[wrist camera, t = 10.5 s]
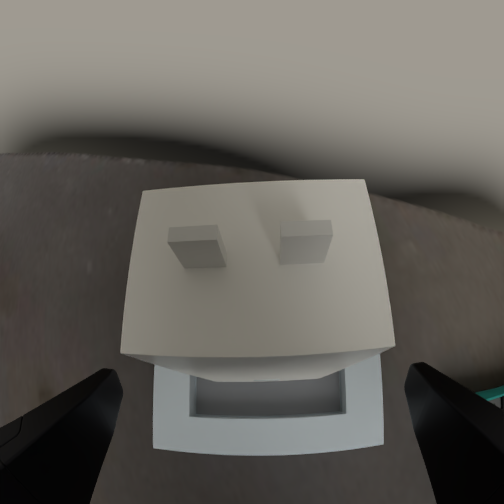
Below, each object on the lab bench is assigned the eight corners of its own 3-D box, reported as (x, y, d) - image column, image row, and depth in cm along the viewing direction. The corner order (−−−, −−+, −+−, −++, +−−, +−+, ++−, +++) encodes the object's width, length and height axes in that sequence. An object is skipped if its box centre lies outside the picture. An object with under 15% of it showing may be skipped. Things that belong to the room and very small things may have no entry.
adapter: (318, 379, 16) (420, 336, 4) (216, 382, 16) (90, 344, 5) (314, 307, 18) (374, 144, 6) (217, 311, 18) (126, 158, 7)
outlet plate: (371, 439, 15) (383, 444, 13) (166, 442, 16) (153, 447, 14) (356, 252, 20) (364, 236, 18) (175, 258, 21) (165, 243, 19)
